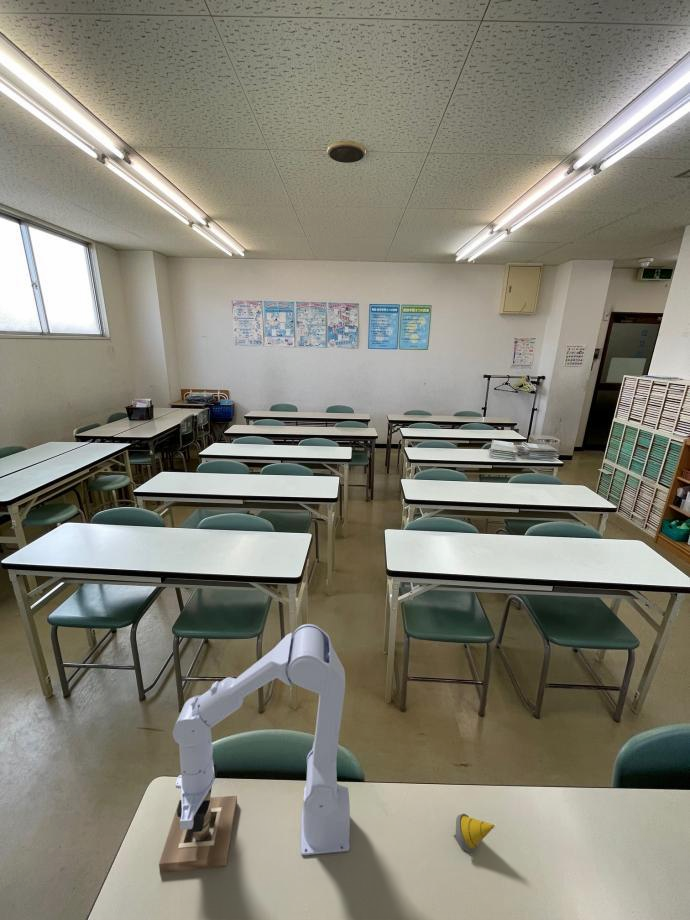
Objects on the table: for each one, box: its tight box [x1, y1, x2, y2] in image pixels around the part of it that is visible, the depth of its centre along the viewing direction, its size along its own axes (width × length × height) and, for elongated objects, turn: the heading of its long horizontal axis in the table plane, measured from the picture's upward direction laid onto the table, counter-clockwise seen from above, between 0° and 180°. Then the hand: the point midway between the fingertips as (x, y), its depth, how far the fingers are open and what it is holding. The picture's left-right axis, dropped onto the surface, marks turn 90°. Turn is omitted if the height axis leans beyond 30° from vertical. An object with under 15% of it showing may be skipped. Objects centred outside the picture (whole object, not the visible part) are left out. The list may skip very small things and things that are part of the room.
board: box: [158, 795, 238, 873], centre depth 75 cm, size 12×11×2 cm
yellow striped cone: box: [453, 813, 496, 853], centre depth 74 cm, size 5×5×10 cm
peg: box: [192, 792, 212, 841], centre depth 75 cm, size 4×4×8 cm
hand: (200, 816), depth 75 cm, fingers closed on peg, 4 cm apart
